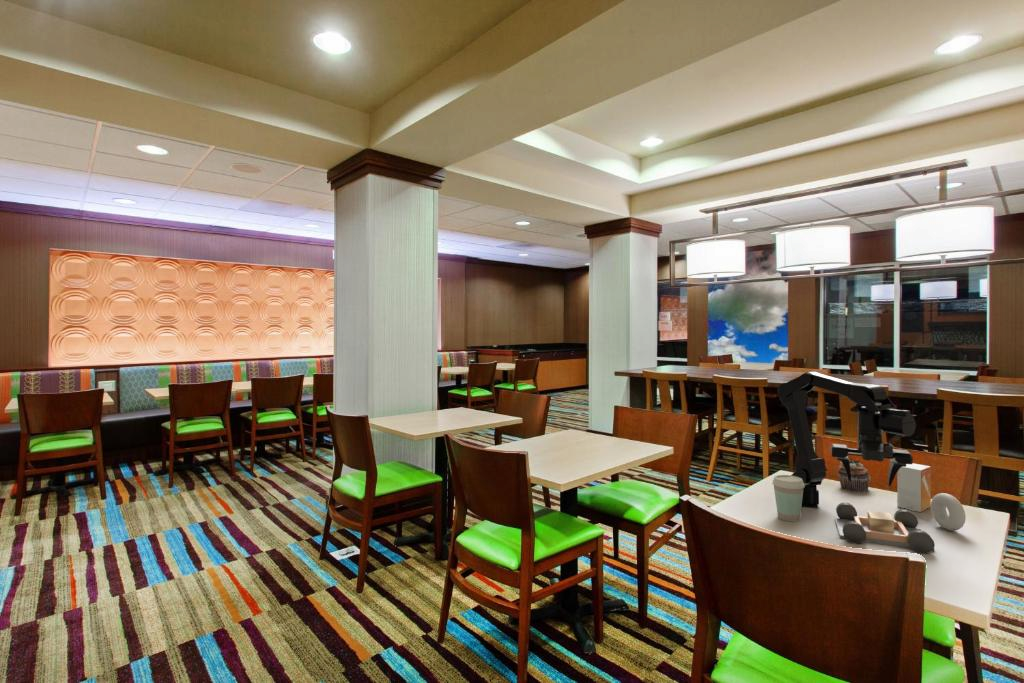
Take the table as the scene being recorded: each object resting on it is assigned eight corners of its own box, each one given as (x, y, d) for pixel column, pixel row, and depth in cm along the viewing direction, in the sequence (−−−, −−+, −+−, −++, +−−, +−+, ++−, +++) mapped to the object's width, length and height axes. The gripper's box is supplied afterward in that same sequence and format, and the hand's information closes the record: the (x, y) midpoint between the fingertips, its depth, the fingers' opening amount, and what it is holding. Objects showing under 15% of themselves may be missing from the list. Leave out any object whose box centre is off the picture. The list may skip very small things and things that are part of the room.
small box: (921, 512, 154) (921, 470, 154) (896, 507, 159) (896, 465, 159) (931, 507, 158) (931, 465, 158) (907, 502, 164) (906, 461, 164)
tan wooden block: (871, 534, 137) (871, 517, 137) (867, 526, 142) (867, 510, 142) (894, 537, 134) (893, 520, 134) (889, 529, 140) (889, 513, 140)
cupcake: (861, 494, 172) (861, 465, 172) (832, 487, 180) (831, 459, 180) (876, 489, 177) (876, 461, 176) (847, 482, 185) (846, 455, 185)
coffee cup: (801, 514, 155) (801, 475, 154) (808, 524, 147) (807, 483, 146) (770, 511, 157) (770, 473, 157) (775, 521, 149) (774, 481, 149)
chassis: (841, 541, 134) (841, 522, 134) (834, 517, 151) (833, 501, 151) (937, 555, 125) (937, 535, 125) (918, 528, 142) (918, 510, 142)
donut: (927, 522, 146) (927, 488, 146) (940, 522, 146) (939, 488, 146) (955, 536, 136) (955, 499, 136) (969, 536, 136) (969, 499, 136)
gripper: (833, 431, 142) (832, 486, 142) (917, 438, 133) (916, 497, 133) (830, 424, 151) (830, 476, 152) (908, 430, 142) (908, 485, 143)
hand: (869, 483), depth 145 cm, fingers open, 9 cm apart
